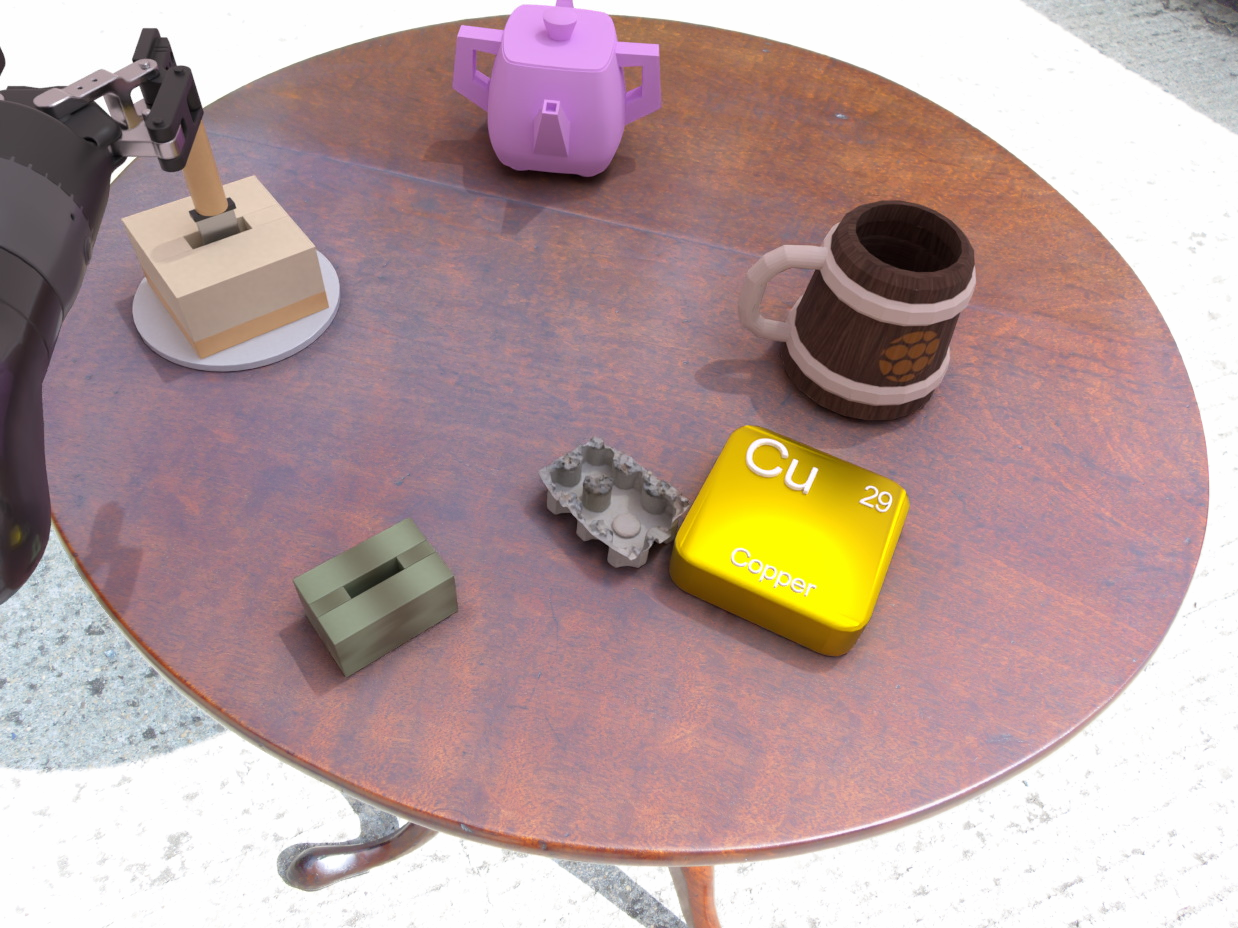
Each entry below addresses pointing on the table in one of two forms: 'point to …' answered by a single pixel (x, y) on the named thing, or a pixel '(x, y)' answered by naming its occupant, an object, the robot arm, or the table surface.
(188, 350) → the plate
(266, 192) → the wooden slotted box
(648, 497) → the egg carton
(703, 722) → the table surface
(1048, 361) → the table surface
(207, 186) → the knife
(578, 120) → the teapot
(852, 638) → the element tile
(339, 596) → the knife block
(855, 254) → the mug
